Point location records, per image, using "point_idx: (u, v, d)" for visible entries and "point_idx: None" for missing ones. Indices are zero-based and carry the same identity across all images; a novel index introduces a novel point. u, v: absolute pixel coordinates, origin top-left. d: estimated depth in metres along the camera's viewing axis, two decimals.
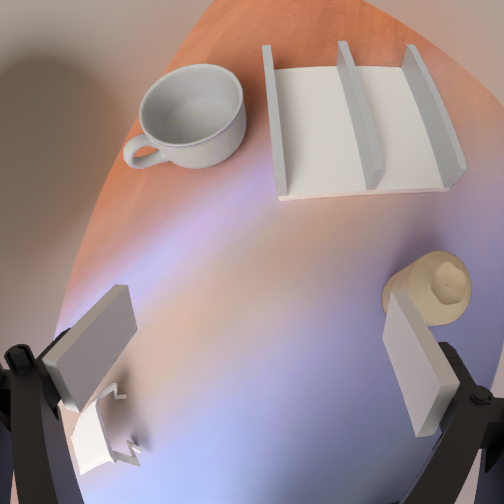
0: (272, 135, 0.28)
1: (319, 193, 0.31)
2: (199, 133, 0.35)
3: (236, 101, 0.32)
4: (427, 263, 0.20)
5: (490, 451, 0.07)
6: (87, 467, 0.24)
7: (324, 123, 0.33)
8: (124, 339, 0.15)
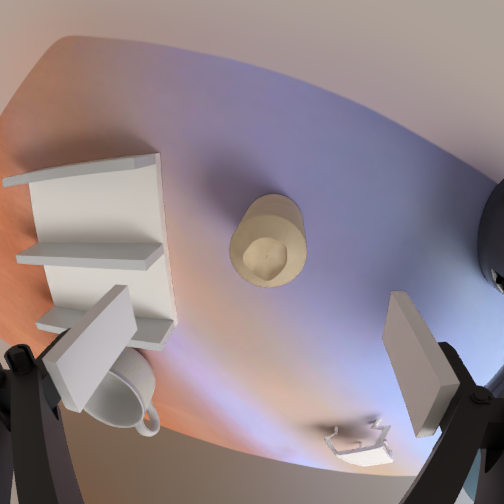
0: None
1: (170, 294, 0.34)
2: None
3: None
4: (242, 271, 0.23)
5: (490, 451, 0.07)
6: (387, 458, 0.35)
7: (101, 277, 0.34)
8: (124, 339, 0.15)
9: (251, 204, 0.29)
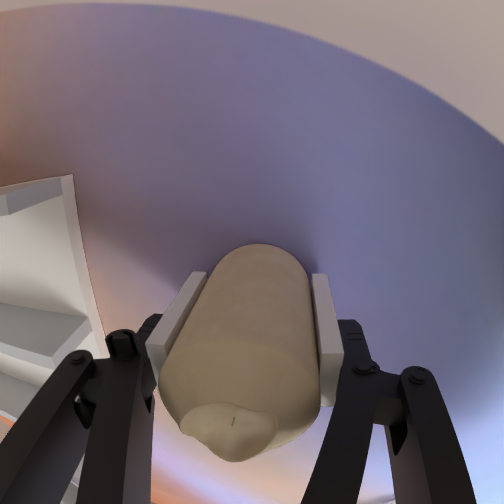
0: None
1: None
2: None
3: None
4: None
5: (394, 432, 0.09)
6: None
7: None
8: None
9: (217, 265, 0.16)
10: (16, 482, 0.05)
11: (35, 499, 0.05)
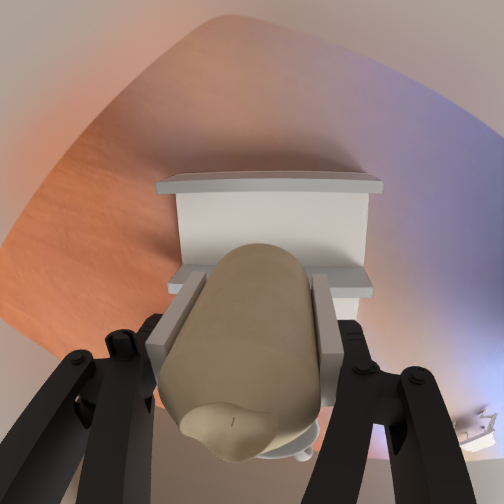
0: None
1: (356, 317, 0.32)
2: None
3: None
4: None
5: (394, 432, 0.09)
6: (492, 441, 0.34)
7: None
8: None
9: (217, 265, 0.16)
10: (16, 482, 0.05)
11: (35, 499, 0.05)
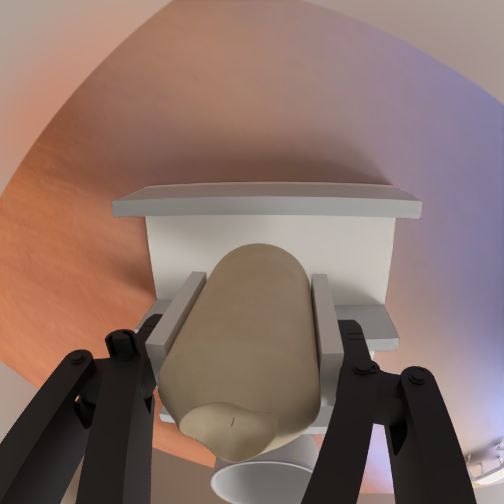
0: (321, 432, 0.23)
1: None
2: None
3: None
4: None
5: (394, 433, 0.09)
6: None
7: None
8: None
9: (217, 265, 0.16)
10: (16, 482, 0.05)
11: (35, 499, 0.05)
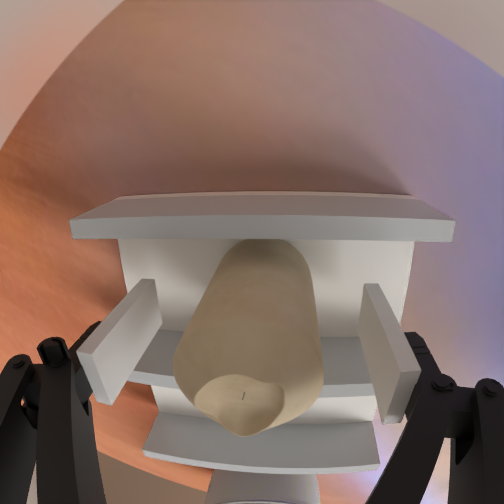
0: (322, 472, 0.19)
1: None
2: None
3: None
4: (199, 410, 0.11)
5: (459, 442, 0.07)
6: None
7: None
8: (151, 332, 0.15)
9: (224, 256, 0.17)
10: None
11: (3, 500, 0.05)
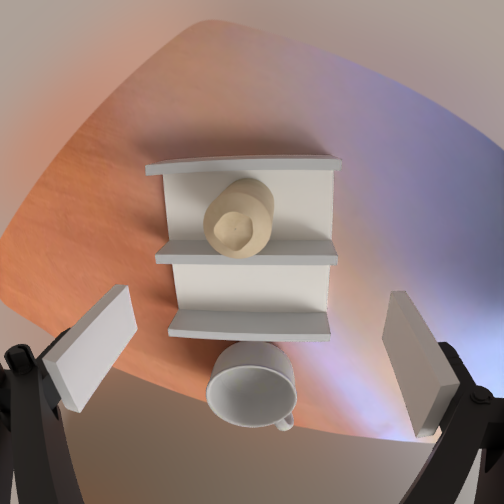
0: (290, 340, 0.34)
1: None
2: (252, 369, 0.41)
3: None
4: (214, 243, 0.25)
5: (490, 451, 0.07)
6: None
7: (254, 275, 0.36)
8: (124, 339, 0.15)
9: None
10: None
11: None
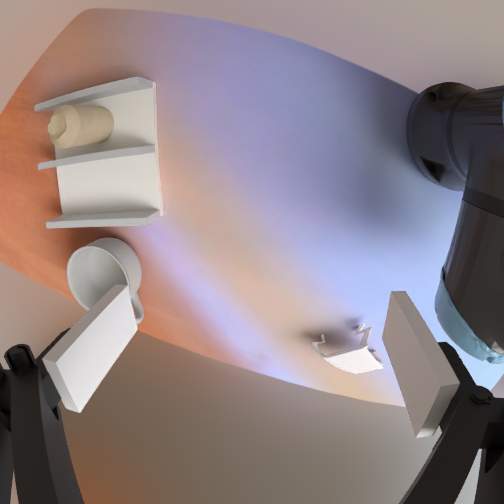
0: (118, 224, 0.39)
1: (158, 186, 0.42)
2: (115, 269, 0.47)
3: None
4: (50, 138, 0.31)
5: (490, 451, 0.07)
6: (376, 363, 0.44)
7: (105, 179, 0.42)
8: (124, 339, 0.15)
9: None
10: None
11: None
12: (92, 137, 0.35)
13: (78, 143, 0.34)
